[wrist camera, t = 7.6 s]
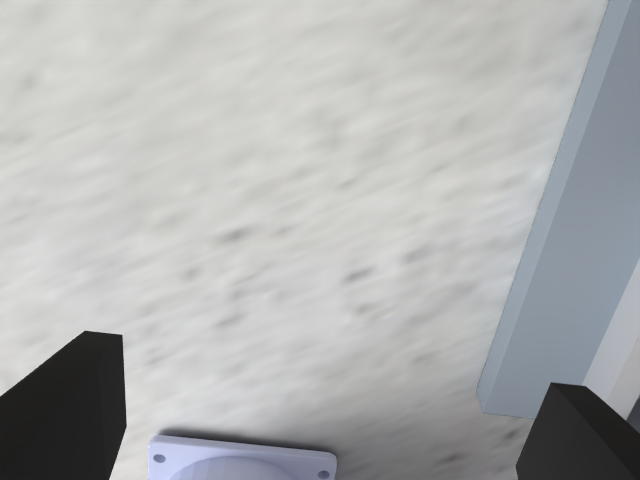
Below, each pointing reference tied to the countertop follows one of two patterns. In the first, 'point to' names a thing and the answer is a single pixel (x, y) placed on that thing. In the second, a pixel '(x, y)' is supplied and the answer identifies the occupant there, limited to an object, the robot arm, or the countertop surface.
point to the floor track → (582, 249)
